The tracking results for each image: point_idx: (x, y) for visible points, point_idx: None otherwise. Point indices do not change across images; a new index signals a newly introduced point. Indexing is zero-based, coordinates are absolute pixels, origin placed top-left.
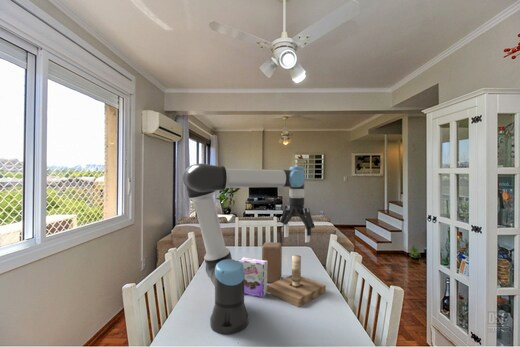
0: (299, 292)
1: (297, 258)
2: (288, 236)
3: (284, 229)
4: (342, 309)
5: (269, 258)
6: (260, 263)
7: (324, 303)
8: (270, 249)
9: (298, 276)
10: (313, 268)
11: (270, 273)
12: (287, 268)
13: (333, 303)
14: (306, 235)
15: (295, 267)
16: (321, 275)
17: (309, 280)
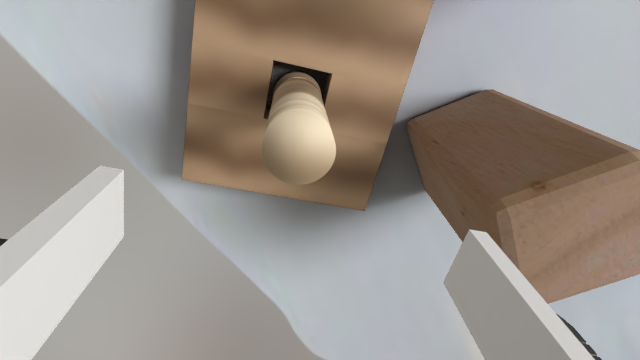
0: (239, 21)
1: (274, 122)
2: (445, 283)
3: (549, 312)
4: (43, 51)
5: (521, 141)
6: None
7: (135, 58)
8: (558, 171)
9: (275, 95)
10: (339, 333)
11: (466, 115)
12: (436, 281)
13: (105, 83)
14: (29, 223)
15: (290, 97)
16: (281, 294)
17: (269, 183)
